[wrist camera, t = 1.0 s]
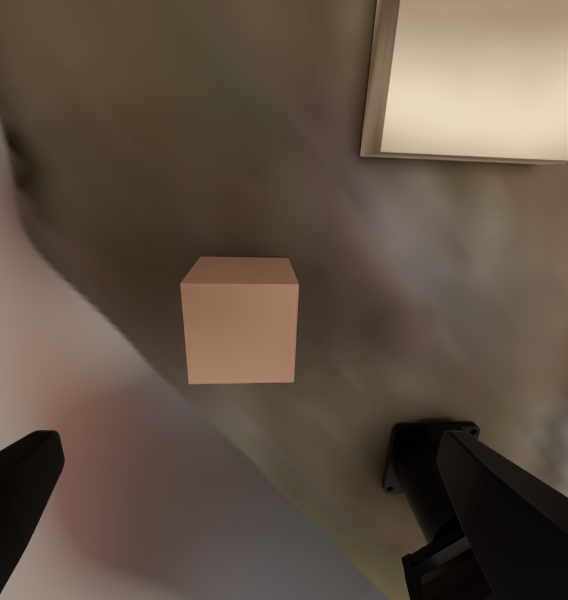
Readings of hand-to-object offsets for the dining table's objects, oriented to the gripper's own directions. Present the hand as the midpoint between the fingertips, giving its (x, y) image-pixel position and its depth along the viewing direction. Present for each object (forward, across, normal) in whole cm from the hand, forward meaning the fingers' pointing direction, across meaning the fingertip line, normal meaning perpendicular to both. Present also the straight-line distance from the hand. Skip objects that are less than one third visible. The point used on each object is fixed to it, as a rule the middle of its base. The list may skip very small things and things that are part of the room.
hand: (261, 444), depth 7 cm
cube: (+12, +1, +1) cm, 12 cm away
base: (+12, -10, -12) cm, 20 cm away
